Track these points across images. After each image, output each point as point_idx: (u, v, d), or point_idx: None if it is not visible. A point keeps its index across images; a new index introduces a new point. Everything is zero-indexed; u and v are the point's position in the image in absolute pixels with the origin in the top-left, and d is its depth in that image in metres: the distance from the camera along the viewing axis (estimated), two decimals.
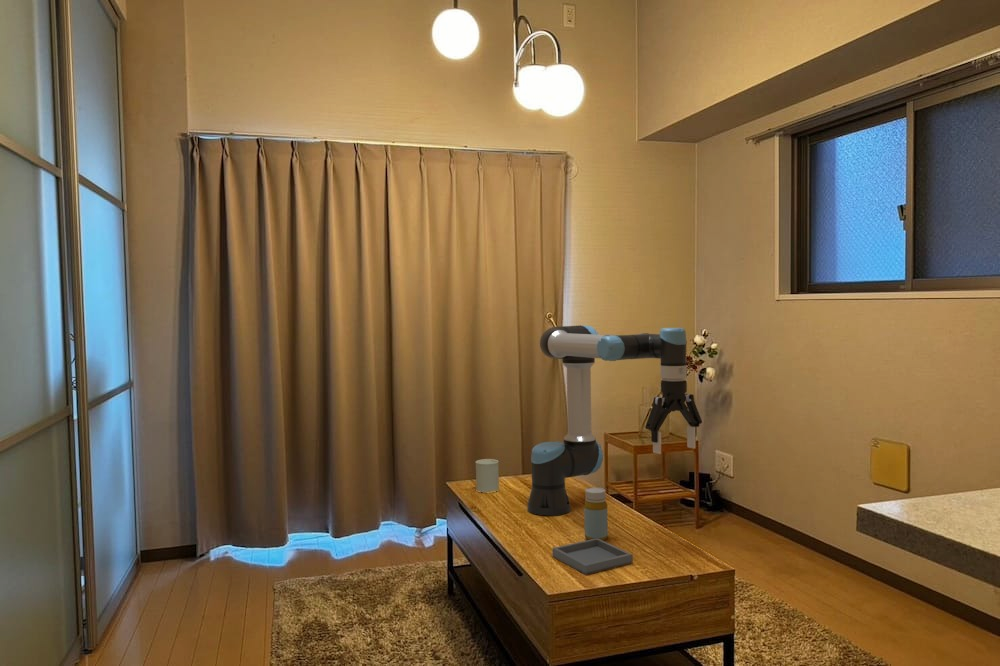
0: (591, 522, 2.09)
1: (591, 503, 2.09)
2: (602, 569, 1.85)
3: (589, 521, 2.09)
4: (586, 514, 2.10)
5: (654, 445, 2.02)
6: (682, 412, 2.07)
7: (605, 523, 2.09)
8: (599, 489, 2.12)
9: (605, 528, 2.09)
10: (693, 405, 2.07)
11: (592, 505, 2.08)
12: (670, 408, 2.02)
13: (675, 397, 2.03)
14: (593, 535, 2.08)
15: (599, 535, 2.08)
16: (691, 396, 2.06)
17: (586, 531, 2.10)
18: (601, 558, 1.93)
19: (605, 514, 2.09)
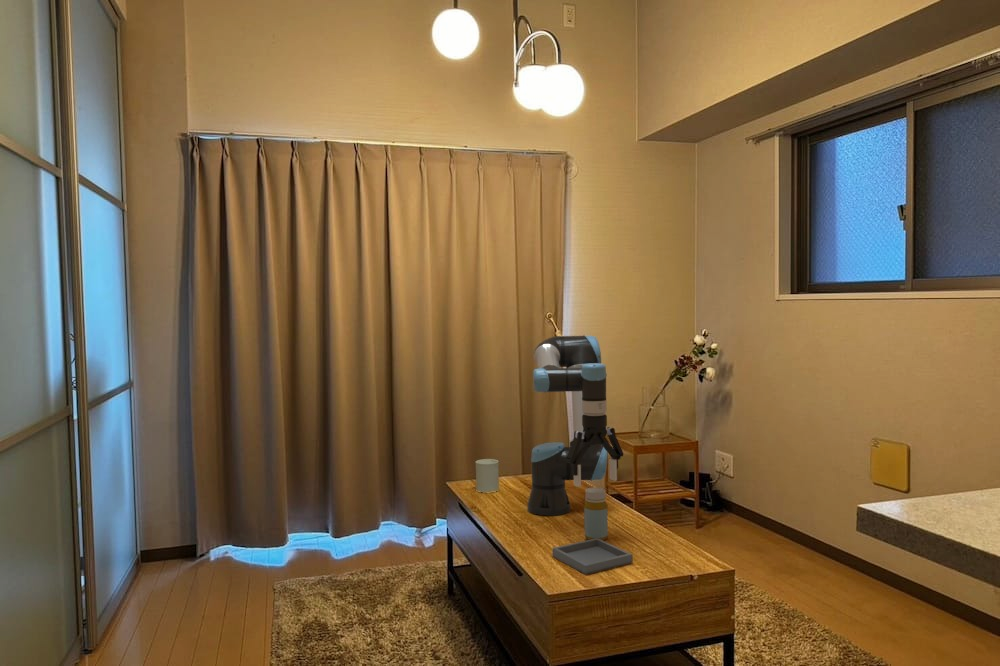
0: (591, 522, 2.09)
1: (591, 503, 2.09)
2: (602, 569, 1.85)
3: (589, 521, 2.09)
4: (586, 514, 2.10)
5: (575, 477, 2.08)
6: (603, 445, 2.13)
7: (605, 523, 2.09)
8: (599, 489, 2.12)
9: (605, 528, 2.09)
10: (614, 438, 2.13)
11: (592, 505, 2.08)
12: (590, 442, 2.08)
13: (595, 431, 2.09)
14: (593, 535, 2.08)
15: (599, 535, 2.08)
16: (612, 430, 2.12)
17: (586, 531, 2.10)
18: (601, 558, 1.93)
19: (605, 514, 2.09)
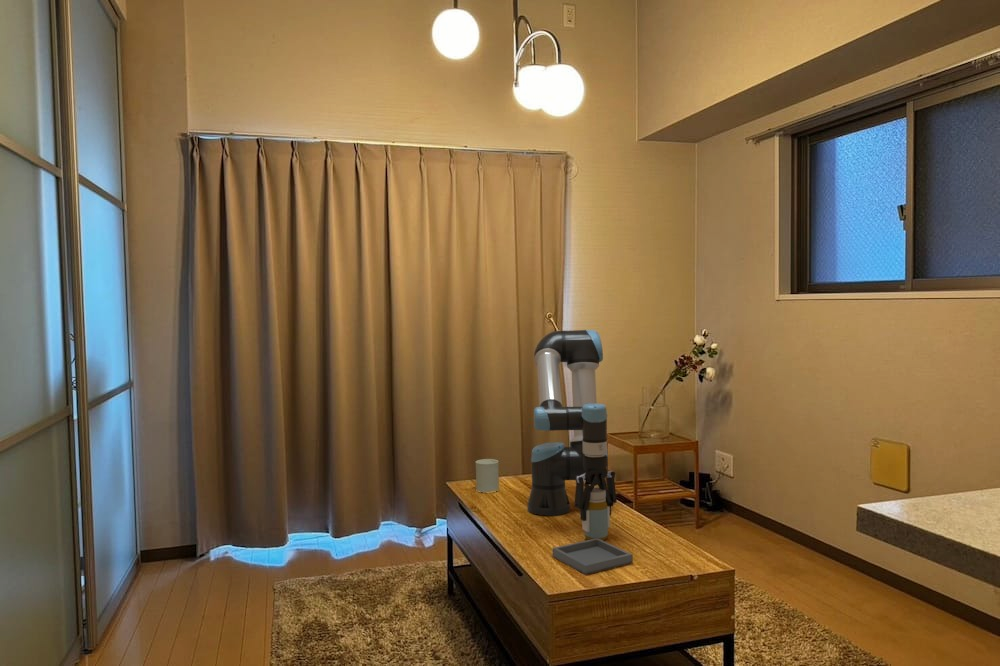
0: (591, 522, 2.08)
1: (591, 503, 2.09)
2: (602, 569, 1.85)
3: None
4: None
5: (583, 522, 2.10)
6: (600, 488, 2.13)
7: (605, 523, 2.09)
8: (599, 489, 2.12)
9: (605, 528, 2.09)
10: (612, 482, 2.13)
11: (592, 505, 2.08)
12: (592, 484, 2.08)
13: (596, 472, 2.10)
14: (593, 535, 2.08)
15: (599, 535, 2.08)
16: (612, 473, 2.13)
17: None
18: (601, 558, 1.93)
19: (605, 514, 2.09)
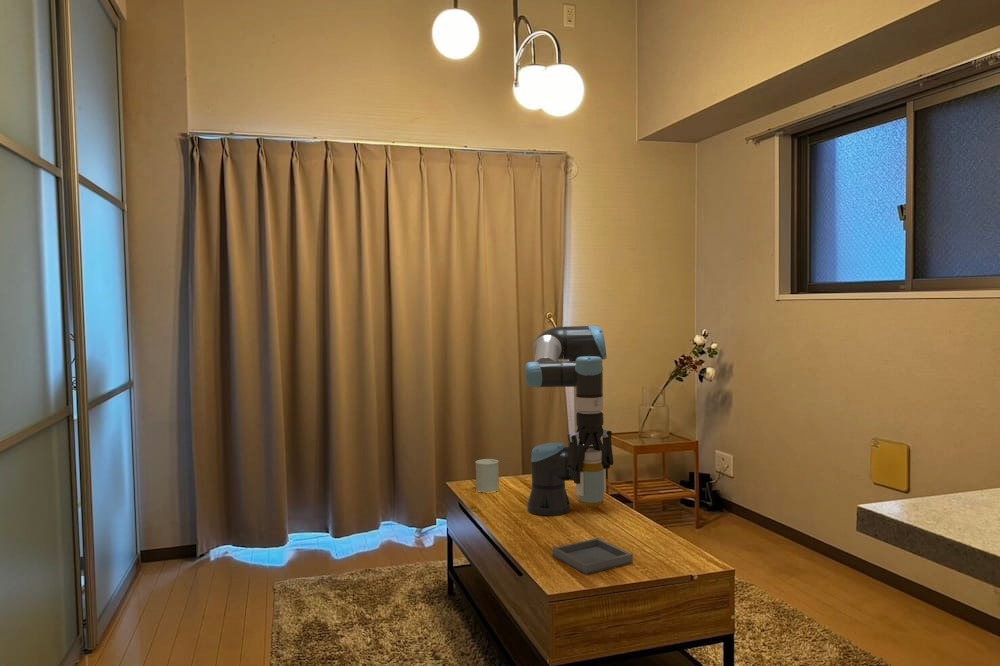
0: (585, 485, 1.90)
1: (585, 464, 1.90)
2: (602, 569, 1.85)
3: None
4: None
5: (577, 486, 1.92)
6: (596, 448, 1.94)
7: (601, 486, 1.91)
8: (594, 450, 1.94)
9: (600, 492, 1.90)
10: (608, 442, 1.94)
11: (586, 466, 1.90)
12: (587, 444, 1.90)
13: (591, 430, 1.91)
14: (588, 500, 1.90)
15: (594, 499, 1.90)
16: (609, 432, 1.94)
17: None
18: (601, 558, 1.93)
19: (601, 476, 1.91)
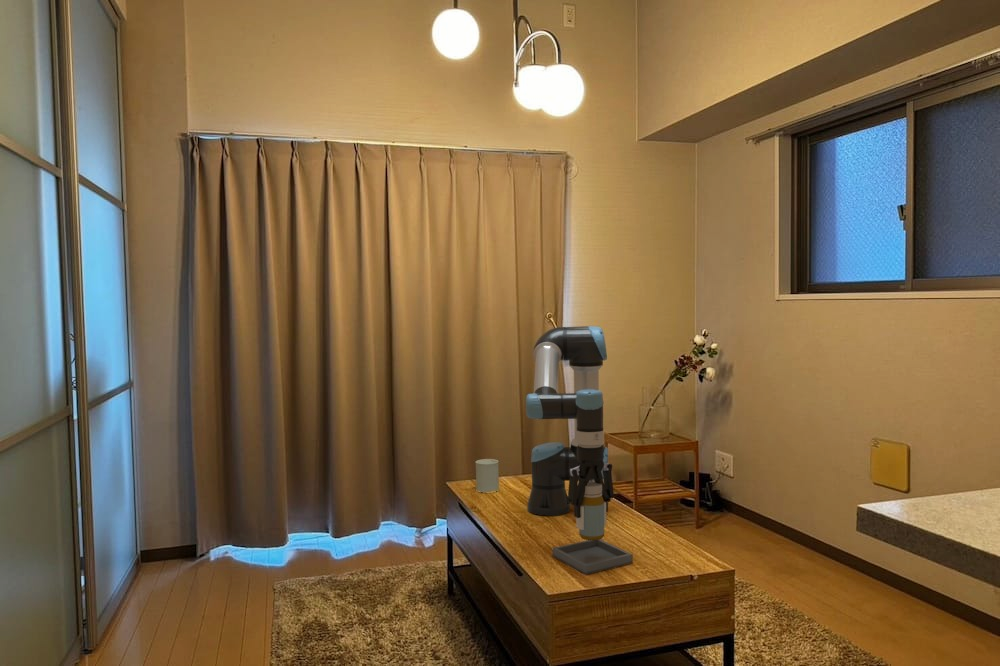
0: (586, 519, 1.90)
1: (586, 498, 1.90)
2: (602, 569, 1.85)
3: (584, 518, 1.90)
4: None
5: (577, 520, 1.92)
6: (596, 482, 1.94)
7: (601, 520, 1.91)
8: (595, 483, 1.94)
9: (601, 526, 1.91)
10: (609, 476, 1.95)
11: (587, 500, 1.90)
12: (587, 478, 1.90)
13: (591, 464, 1.92)
14: (588, 534, 1.90)
15: (594, 533, 1.90)
16: (609, 465, 1.95)
17: (580, 529, 1.92)
18: (601, 558, 1.93)
19: (601, 510, 1.91)
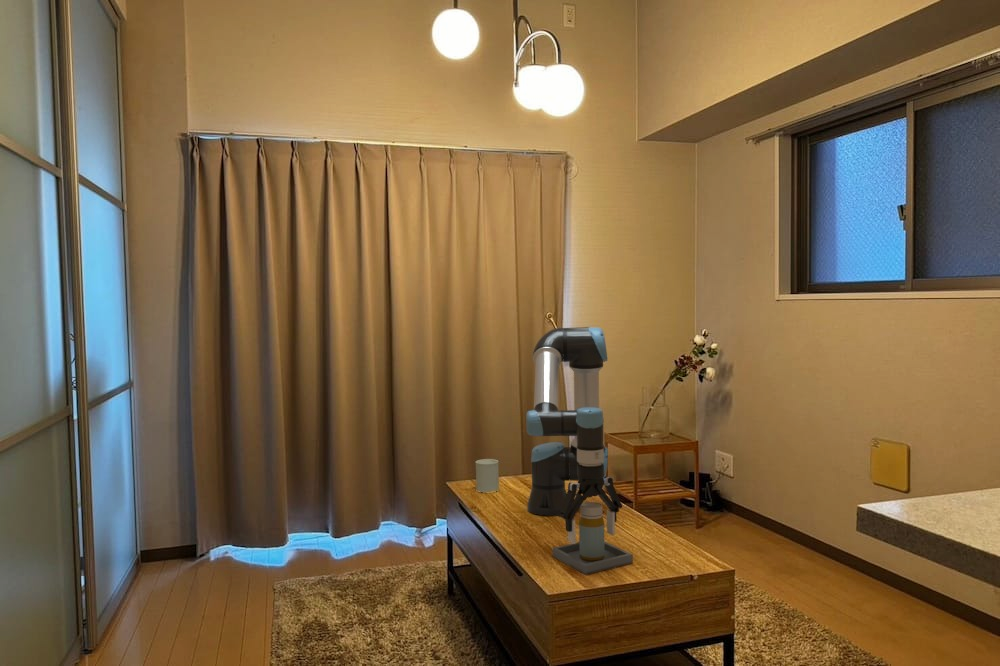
0: (586, 540, 1.90)
1: (586, 519, 1.91)
2: (602, 569, 1.85)
3: (584, 539, 1.91)
4: (581, 531, 1.92)
5: (569, 533, 1.90)
6: (600, 497, 1.95)
7: (602, 541, 1.91)
8: (595, 504, 1.94)
9: (601, 547, 1.91)
10: (612, 489, 1.95)
11: (587, 521, 1.90)
12: (585, 495, 1.90)
13: (592, 482, 1.92)
14: (589, 555, 1.90)
15: (595, 555, 1.90)
16: (610, 480, 1.95)
17: (581, 550, 1.92)
18: None
19: (602, 531, 1.91)
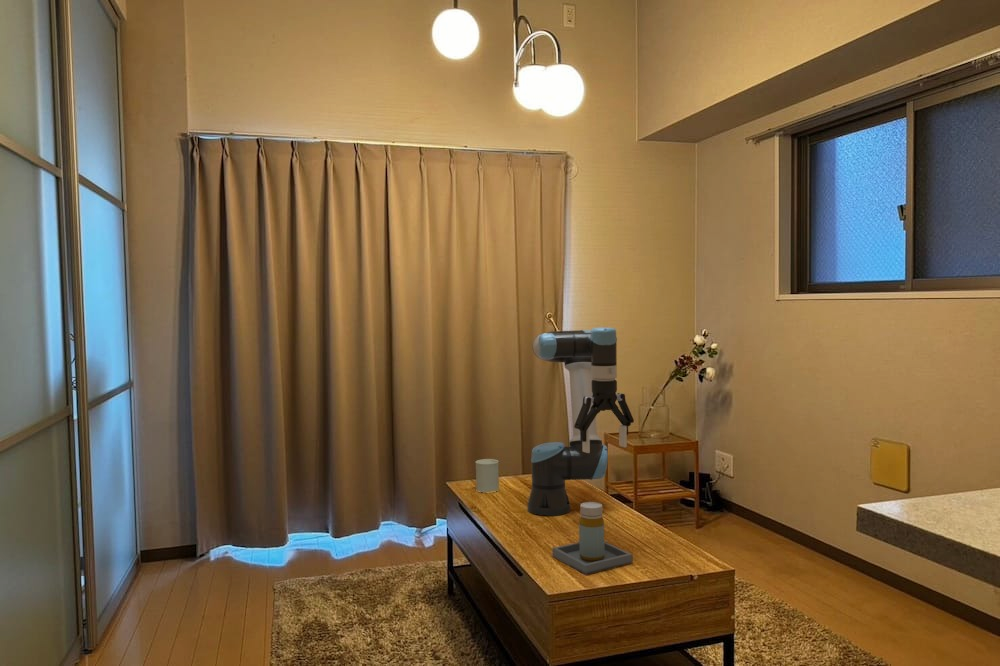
0: (586, 540, 1.91)
1: (586, 519, 1.91)
2: (602, 569, 1.85)
3: (584, 539, 1.91)
4: (581, 531, 1.92)
5: (583, 444, 2.04)
6: (613, 411, 2.08)
7: (602, 541, 1.91)
8: (595, 504, 1.94)
9: (601, 547, 1.91)
10: (624, 404, 2.08)
11: (587, 521, 1.90)
12: (599, 408, 2.03)
13: (605, 397, 2.04)
14: (589, 555, 1.90)
15: (595, 555, 1.90)
16: (622, 395, 2.07)
17: (581, 550, 1.92)
18: None
19: (602, 531, 1.91)
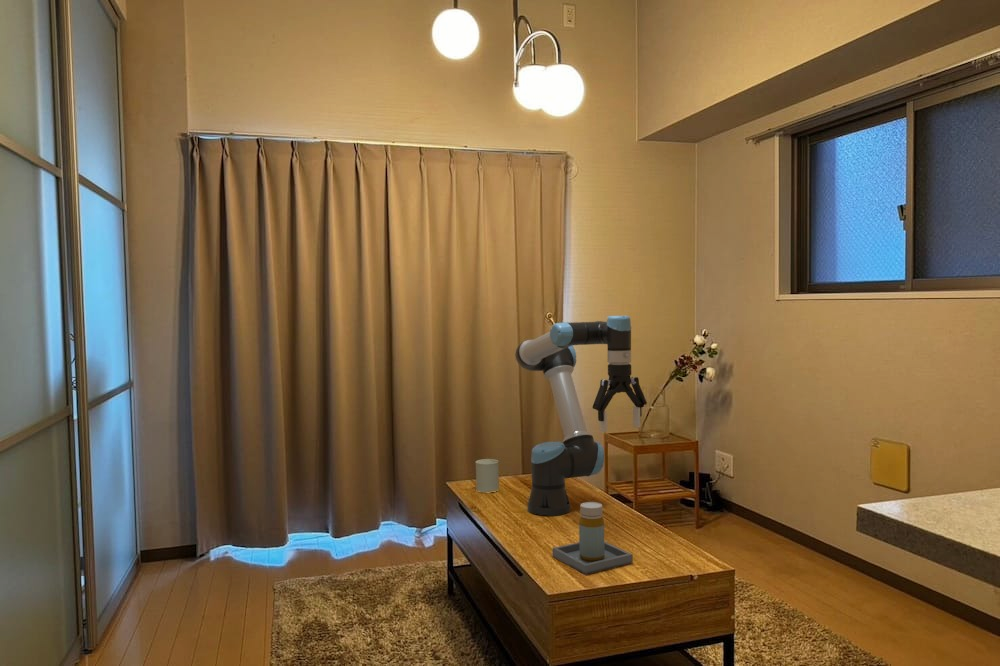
0: (586, 540, 1.91)
1: (586, 519, 1.91)
2: (602, 569, 1.85)
3: (584, 539, 1.91)
4: (581, 531, 1.92)
5: (601, 423, 2.19)
6: (628, 394, 2.23)
7: (602, 541, 1.91)
8: (595, 504, 1.94)
9: (601, 547, 1.91)
10: (638, 387, 2.23)
11: (587, 521, 1.90)
12: (615, 390, 2.18)
13: (620, 379, 2.20)
14: (589, 555, 1.90)
15: (595, 555, 1.90)
16: (636, 379, 2.23)
17: (581, 550, 1.92)
18: None
19: (602, 531, 1.91)
